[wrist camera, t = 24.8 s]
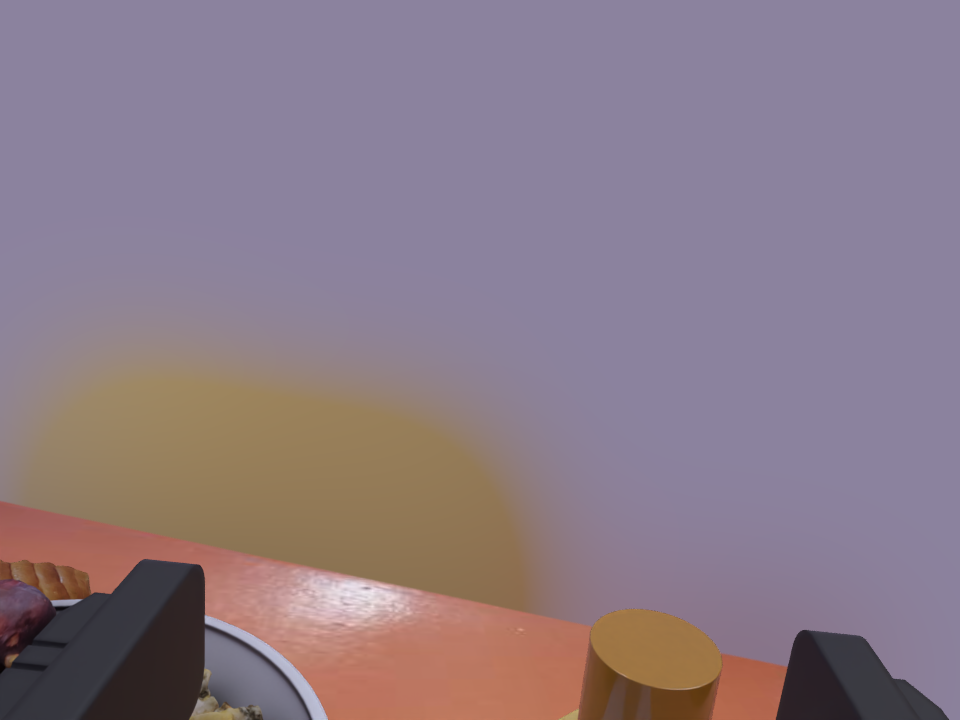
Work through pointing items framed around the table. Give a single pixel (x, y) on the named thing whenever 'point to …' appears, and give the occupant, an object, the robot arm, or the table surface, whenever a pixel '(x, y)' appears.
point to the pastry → (49, 579)
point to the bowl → (227, 673)
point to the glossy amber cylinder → (649, 669)
